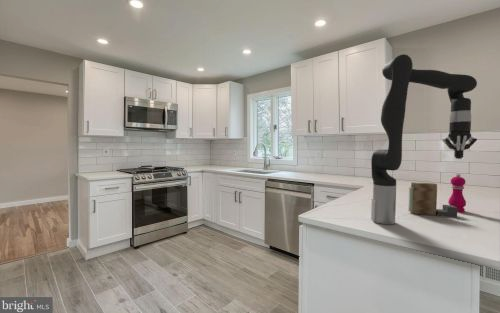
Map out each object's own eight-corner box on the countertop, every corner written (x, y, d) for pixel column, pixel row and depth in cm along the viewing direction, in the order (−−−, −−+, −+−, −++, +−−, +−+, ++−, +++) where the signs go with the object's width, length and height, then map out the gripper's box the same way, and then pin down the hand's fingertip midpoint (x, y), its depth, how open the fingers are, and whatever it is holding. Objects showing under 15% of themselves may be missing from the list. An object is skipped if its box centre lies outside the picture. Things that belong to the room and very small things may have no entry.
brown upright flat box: (413, 214, 123) (414, 183, 122) (410, 212, 126) (411, 182, 125) (435, 215, 120) (437, 184, 119) (432, 213, 123) (433, 183, 123)
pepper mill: (465, 210, 129) (467, 173, 128) (465, 213, 123) (467, 175, 122) (448, 208, 134) (449, 172, 133) (447, 211, 128) (448, 173, 127)
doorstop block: (438, 216, 119) (438, 206, 119) (433, 213, 124) (433, 204, 124) (457, 217, 117) (457, 207, 117) (451, 214, 122) (451, 205, 122)
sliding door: (409, 211, 124) (410, 187, 123) (408, 210, 125) (409, 187, 125) (436, 213, 121) (437, 188, 120) (435, 212, 122) (436, 188, 121)
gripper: (472, 121, 113) (470, 158, 114) (439, 122, 117) (438, 158, 117) (482, 120, 106) (481, 159, 107) (447, 121, 109) (446, 158, 110)
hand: (458, 158), depth 112 cm, fingers closed
